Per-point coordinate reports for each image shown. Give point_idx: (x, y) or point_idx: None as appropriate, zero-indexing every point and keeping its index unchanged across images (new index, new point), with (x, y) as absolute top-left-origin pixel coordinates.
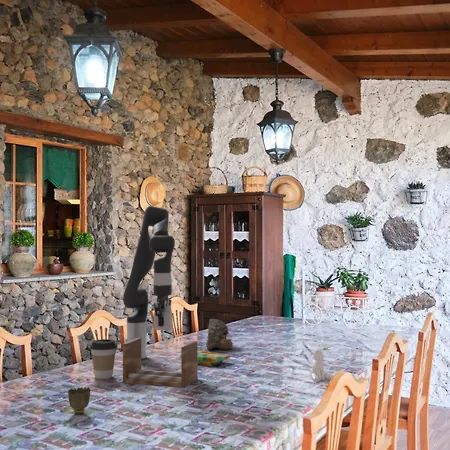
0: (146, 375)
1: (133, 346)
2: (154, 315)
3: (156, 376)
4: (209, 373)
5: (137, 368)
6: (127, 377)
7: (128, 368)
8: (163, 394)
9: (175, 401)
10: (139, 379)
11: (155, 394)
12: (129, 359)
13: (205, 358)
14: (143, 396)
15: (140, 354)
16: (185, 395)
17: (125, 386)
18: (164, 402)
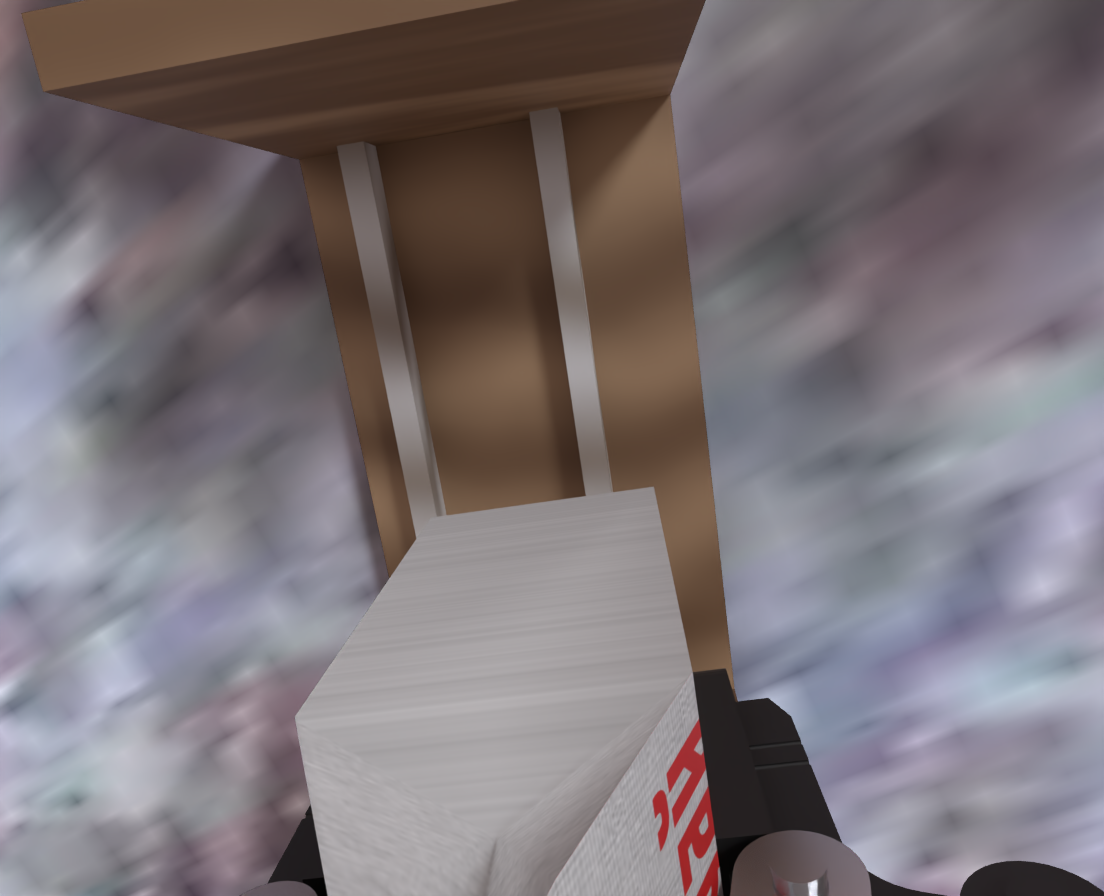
0: (382, 367)
1: (378, 58)
2: (305, 744)
3: (404, 476)
4: (978, 707)
5: (566, 103)
6: (328, 153)
7: (316, 138)
8: (177, 677)
9: (85, 827)
10: (340, 310)
11: (143, 624)
12: (302, 117)
13: None
14: (48, 572)
15: (656, 53)
16: (243, 823)
17: (195, 254)
18: (23, 776)
